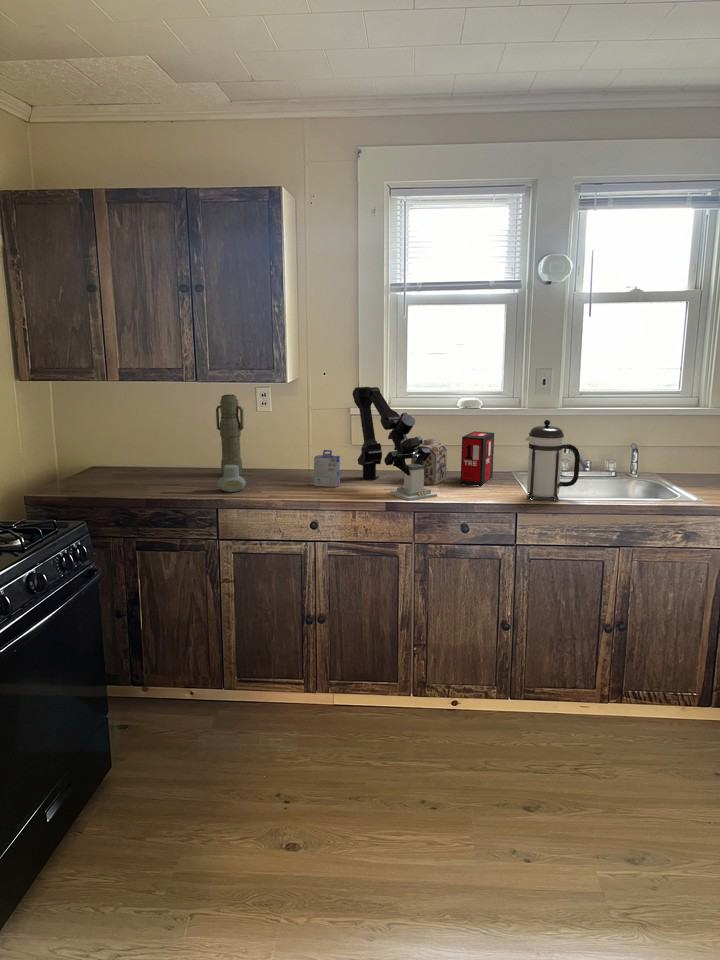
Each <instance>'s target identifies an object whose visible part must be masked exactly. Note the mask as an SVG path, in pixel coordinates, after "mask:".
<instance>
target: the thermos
mask: <svg viewBox="0 0 720 960" xmlns="http://www.w3.org/2000/svg"><path fill="white" fill-rule="evenodd" d="M219 409H220V410H219ZM220 415H221V416H220ZM215 418H216V419H215V421H216V430H218V431H219V436H220V437H221V462H220V467H221V477H223V476H224V466H226V465H238V466H239V476H241V477H242V475H243V471H242V470H243V461H242V457H241V434H242V432H241V431H243V429H244V428H245V427H244V409H243V407H242V406H241V405H239V400H238V397H237V395H235V394H222V396H221V398H220V403H219V405H217V406H216V408H215Z"/></svg>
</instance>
